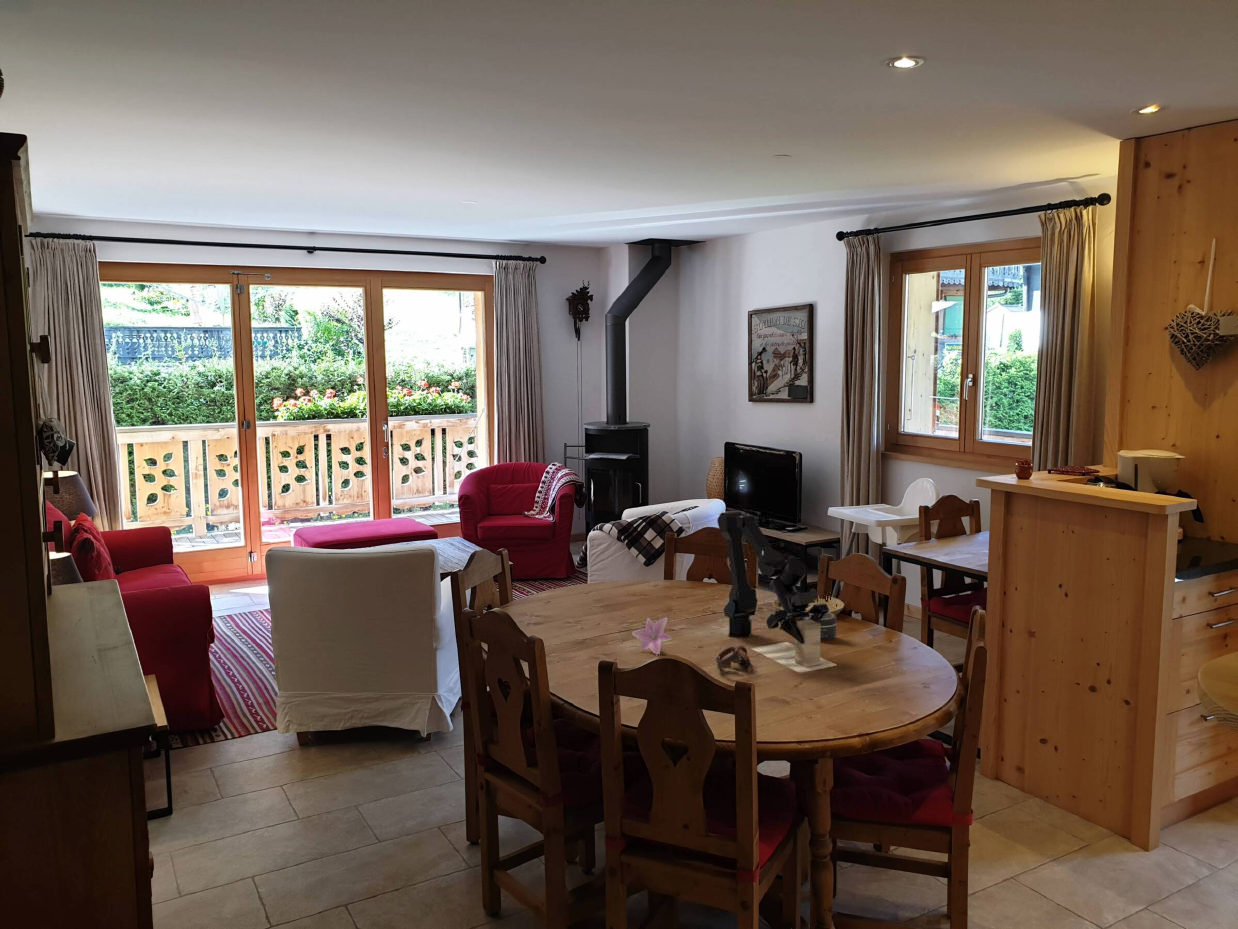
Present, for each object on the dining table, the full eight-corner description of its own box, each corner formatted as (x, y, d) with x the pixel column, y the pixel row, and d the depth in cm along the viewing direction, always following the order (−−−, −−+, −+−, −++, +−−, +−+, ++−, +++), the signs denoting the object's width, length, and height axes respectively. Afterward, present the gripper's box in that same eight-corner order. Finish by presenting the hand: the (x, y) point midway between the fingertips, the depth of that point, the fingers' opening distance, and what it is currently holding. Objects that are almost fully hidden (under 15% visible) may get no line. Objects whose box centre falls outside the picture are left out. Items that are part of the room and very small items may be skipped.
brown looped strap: (751, 681, 249) (735, 657, 248) (722, 690, 254) (707, 667, 253) (761, 657, 259) (747, 634, 258) (734, 666, 264) (720, 643, 263)
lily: (629, 649, 280) (624, 627, 274) (659, 629, 285) (654, 607, 279) (653, 670, 271) (648, 648, 266) (683, 649, 276) (679, 627, 271)
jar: (836, 644, 277) (837, 620, 276) (803, 643, 279) (803, 619, 278) (835, 634, 286) (836, 611, 286) (803, 633, 288) (803, 610, 288)
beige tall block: (795, 662, 259) (795, 621, 257) (808, 659, 261) (808, 619, 259) (806, 667, 254) (806, 626, 252) (820, 665, 256) (820, 623, 255)
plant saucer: (759, 608, 319) (759, 599, 318) (815, 599, 328) (815, 590, 328) (799, 626, 297) (799, 616, 296) (858, 616, 307) (858, 606, 306)
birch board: (750, 651, 272) (750, 648, 272) (786, 645, 277) (786, 641, 277) (799, 676, 250) (799, 672, 250) (837, 668, 256) (837, 665, 256)
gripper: (772, 584, 254) (796, 632, 245) (825, 575, 262) (850, 622, 253) (756, 604, 262) (778, 652, 253) (808, 596, 270) (832, 642, 261)
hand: (810, 642), depth 255 cm, fingers closed on beige tall block, 5 cm apart
